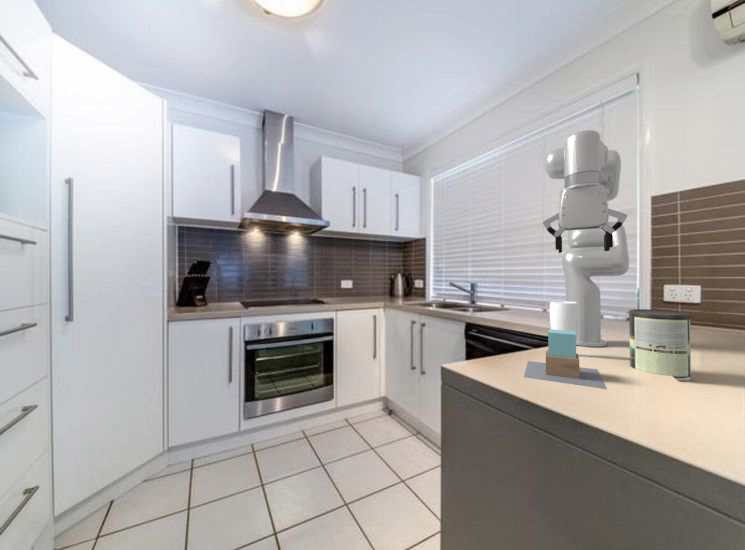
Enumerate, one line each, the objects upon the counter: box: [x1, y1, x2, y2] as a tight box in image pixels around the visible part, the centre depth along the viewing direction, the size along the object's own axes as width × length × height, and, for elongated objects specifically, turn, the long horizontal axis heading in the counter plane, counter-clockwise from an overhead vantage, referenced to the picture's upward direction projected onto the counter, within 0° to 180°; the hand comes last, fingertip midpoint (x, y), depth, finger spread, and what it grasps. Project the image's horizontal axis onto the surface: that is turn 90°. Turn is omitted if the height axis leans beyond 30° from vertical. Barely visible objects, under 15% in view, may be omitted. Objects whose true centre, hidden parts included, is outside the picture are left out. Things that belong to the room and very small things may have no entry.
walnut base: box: [545, 349, 580, 379], centre depth 67 cm, size 6×6×4 cm
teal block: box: [547, 328, 577, 359], centre depth 67 cm, size 5×5×5 cm
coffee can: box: [628, 308, 692, 382], centre depth 69 cm, size 10×10×14 cm
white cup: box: [549, 300, 578, 339], centre depth 84 cm, size 7×7×15 cm
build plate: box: [523, 360, 608, 390], centre depth 67 cm, size 14×14×1 cm
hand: (582, 251), depth 76 cm, fingers open, 9 cm apart
